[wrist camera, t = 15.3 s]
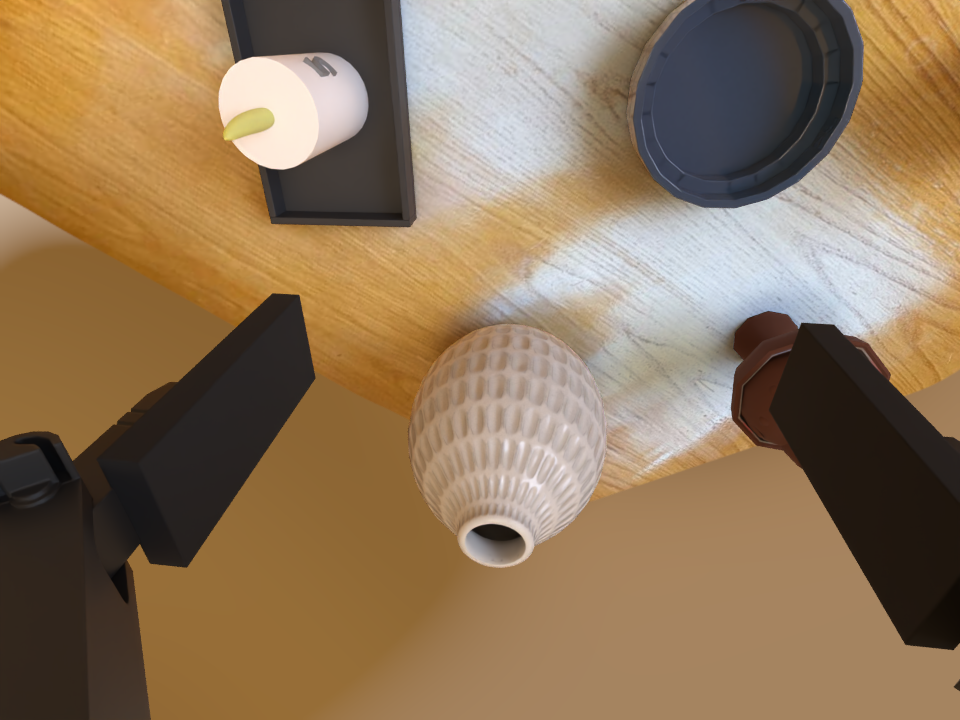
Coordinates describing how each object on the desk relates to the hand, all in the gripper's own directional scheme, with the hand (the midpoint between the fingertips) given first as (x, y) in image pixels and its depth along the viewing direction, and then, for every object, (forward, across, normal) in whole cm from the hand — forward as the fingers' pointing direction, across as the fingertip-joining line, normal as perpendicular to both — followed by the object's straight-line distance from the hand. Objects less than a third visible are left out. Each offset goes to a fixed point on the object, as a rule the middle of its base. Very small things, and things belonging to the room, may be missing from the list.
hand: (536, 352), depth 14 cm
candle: (+32, -17, +3) cm, 36 cm away
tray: (+32, -17, +3) cm, 37 cm away
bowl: (+32, +13, +4) cm, 35 cm away
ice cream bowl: (+32, +21, -16) cm, 42 cm away
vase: (+32, -2, -21) cm, 38 cm away
